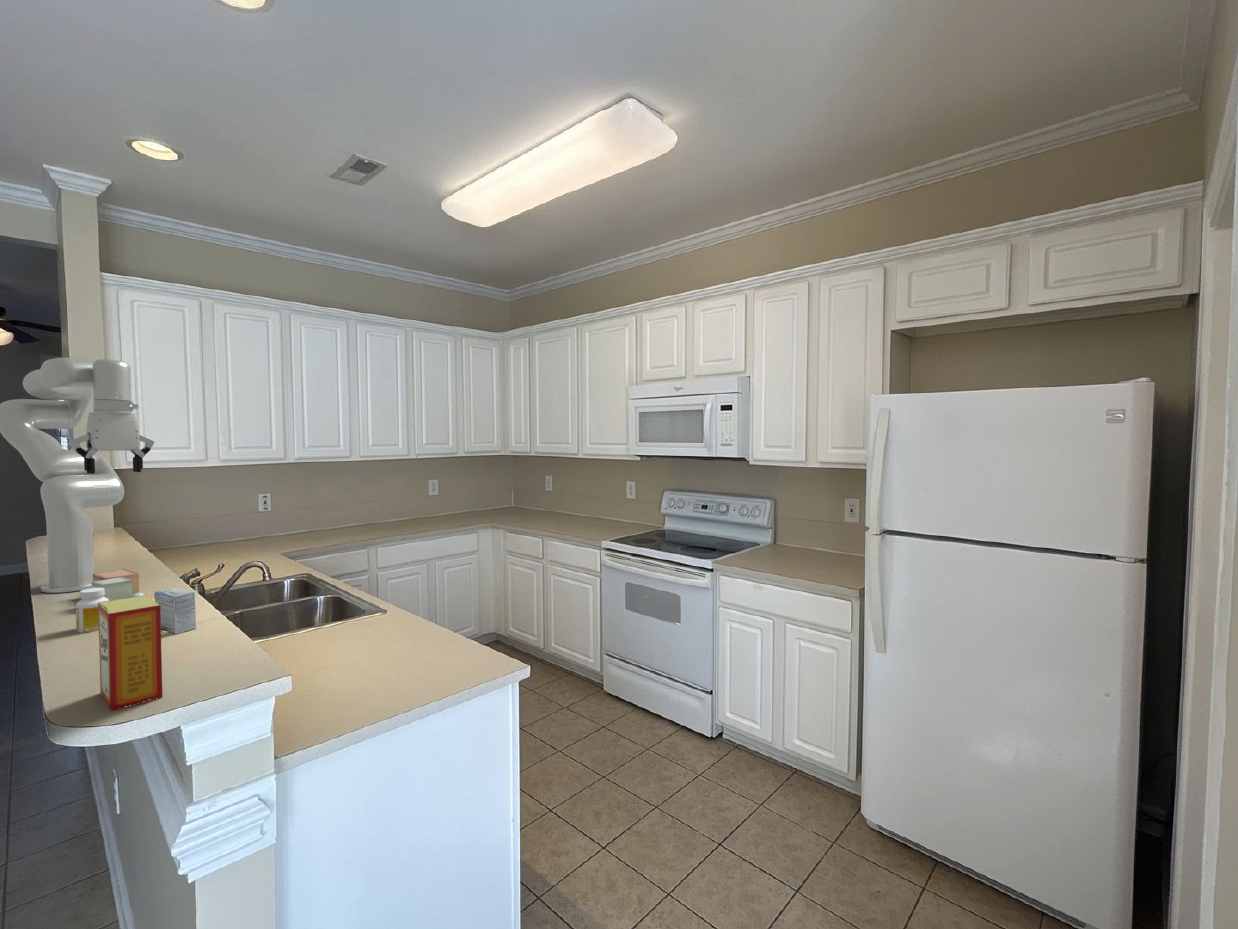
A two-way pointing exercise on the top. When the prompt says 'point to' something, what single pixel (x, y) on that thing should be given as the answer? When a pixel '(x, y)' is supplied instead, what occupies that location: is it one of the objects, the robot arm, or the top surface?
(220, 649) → the top surface
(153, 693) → the baking soda box
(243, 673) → the top surface
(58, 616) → the top surface
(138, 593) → the marble
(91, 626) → the supplement bottle
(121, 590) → the sage green box
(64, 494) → the robot arm
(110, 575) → the terracotta box
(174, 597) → the medicine box
